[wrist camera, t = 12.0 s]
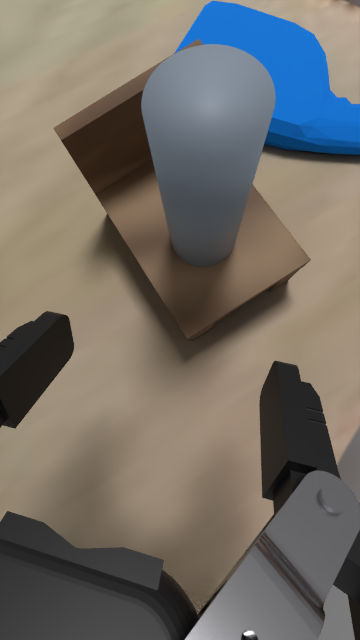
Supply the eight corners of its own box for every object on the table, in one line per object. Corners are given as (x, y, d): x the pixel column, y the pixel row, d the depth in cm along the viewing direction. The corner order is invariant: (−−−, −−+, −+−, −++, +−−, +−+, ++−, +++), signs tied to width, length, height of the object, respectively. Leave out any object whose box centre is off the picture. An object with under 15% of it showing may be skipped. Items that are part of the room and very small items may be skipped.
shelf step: (107, 212, 24) (53, 128, 16) (199, 155, 25) (198, 38, 16) (189, 342, 22) (181, 329, 13) (291, 277, 22) (351, 221, 13)
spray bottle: (153, 78, 23) (432, 196, 20) (213, -17, 24) (488, 82, 21) (158, 109, 26) (403, 216, 23) (211, 24, 27) (453, 115, 24)
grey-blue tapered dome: (164, 260, 19) (127, 148, 9) (178, 201, 20) (158, 38, 10) (228, 272, 18) (262, 167, 9) (241, 212, 19) (286, 51, 9)
